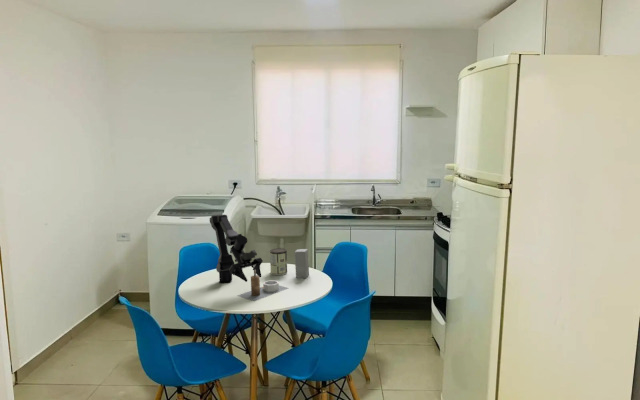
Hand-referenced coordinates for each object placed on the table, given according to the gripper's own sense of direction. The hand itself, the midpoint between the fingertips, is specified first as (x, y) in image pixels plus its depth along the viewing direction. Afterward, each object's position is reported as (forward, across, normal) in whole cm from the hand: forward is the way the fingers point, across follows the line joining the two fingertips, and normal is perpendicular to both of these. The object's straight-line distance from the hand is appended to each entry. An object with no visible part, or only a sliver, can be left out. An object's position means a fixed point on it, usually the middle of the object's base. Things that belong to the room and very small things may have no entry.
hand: (253, 279), depth 225 cm
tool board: (+7, +6, +6) cm, 11 cm away
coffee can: (-8, +36, +21) cm, 43 cm away
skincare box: (+3, +41, +10) cm, 42 cm away
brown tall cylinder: (+6, 0, +5) cm, 8 cm away
